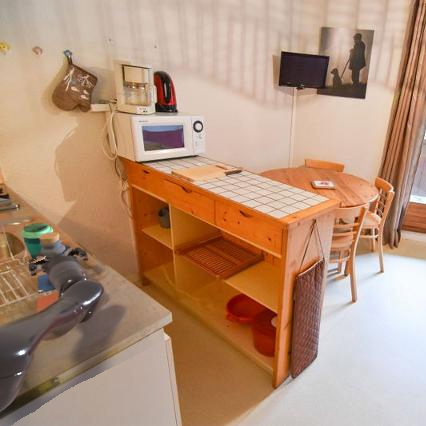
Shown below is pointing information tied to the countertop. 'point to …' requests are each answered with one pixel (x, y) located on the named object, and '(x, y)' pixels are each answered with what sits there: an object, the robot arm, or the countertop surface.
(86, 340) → the countertop surface
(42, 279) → the mats
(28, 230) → the cup
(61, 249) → the bottle
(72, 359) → the countertop surface
